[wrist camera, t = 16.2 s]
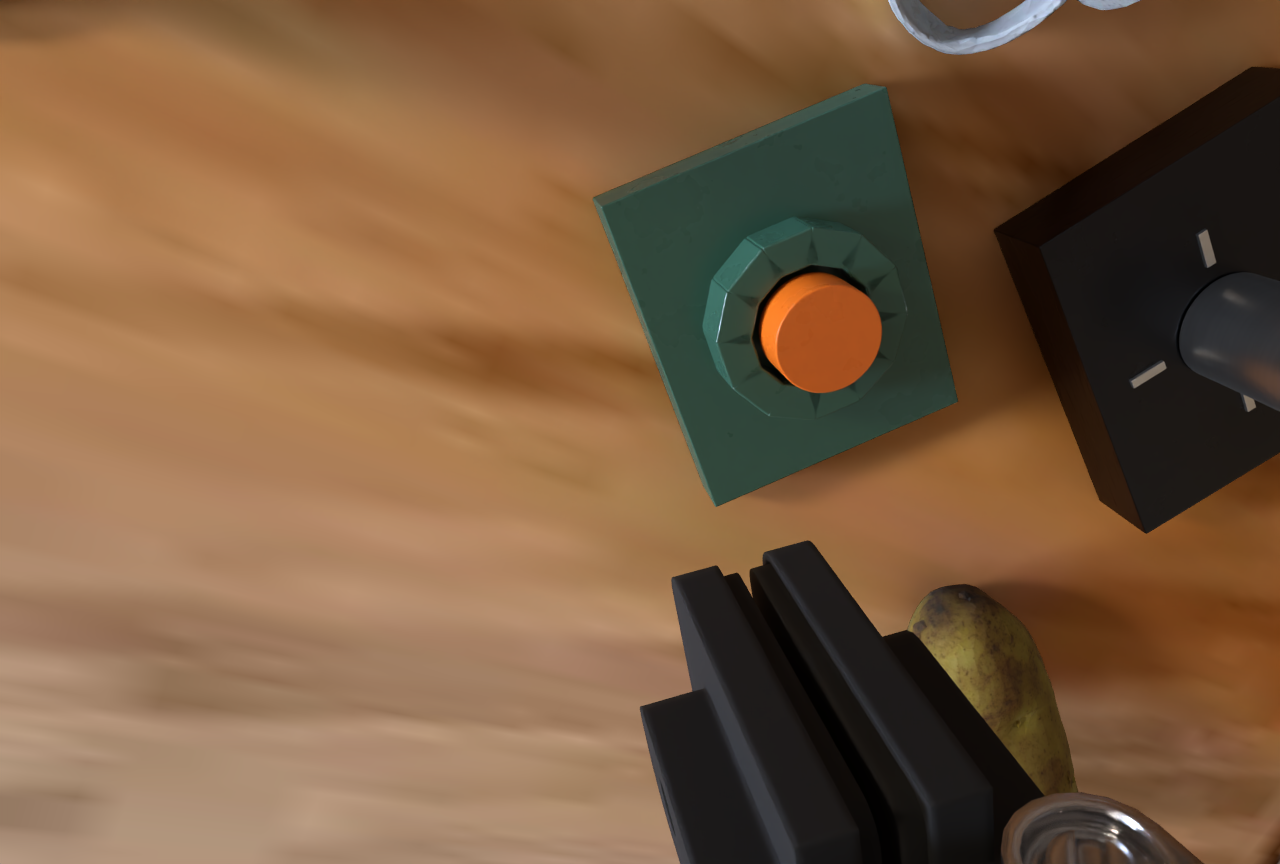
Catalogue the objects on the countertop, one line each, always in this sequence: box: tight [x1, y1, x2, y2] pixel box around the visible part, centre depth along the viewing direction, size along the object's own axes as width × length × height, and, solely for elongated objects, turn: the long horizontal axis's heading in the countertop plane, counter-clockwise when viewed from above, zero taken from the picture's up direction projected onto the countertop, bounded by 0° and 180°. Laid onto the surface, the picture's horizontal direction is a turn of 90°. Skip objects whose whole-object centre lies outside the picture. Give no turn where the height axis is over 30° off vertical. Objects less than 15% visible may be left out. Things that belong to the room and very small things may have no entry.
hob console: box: [994, 67, 1280, 534], centre depth 37 cm, size 14×11×3 cm
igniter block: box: [593, 84, 958, 507], centre depth 33 cm, size 12×10×4 cm
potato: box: [907, 584, 1078, 796], centre depth 40 cm, size 8×13×8 cm, turn 173°
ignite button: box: [759, 272, 882, 393], centre depth 31 cm, size 4×4×2 cm
